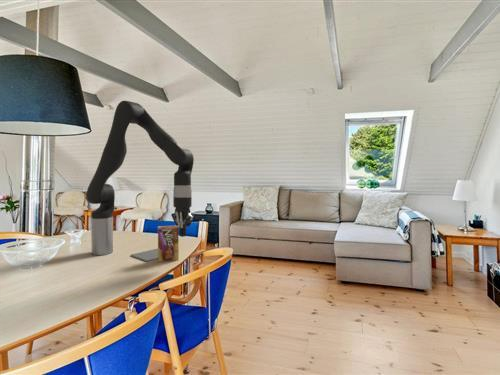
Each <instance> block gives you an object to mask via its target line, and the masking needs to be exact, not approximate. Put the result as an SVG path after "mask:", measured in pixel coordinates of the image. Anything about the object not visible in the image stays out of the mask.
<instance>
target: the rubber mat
mask: <svg viewBox="0 0 500 375" xmlns="http://www.w3.org/2000/svg"><path fill="white" fill-rule="evenodd" d="M130 257H133V258H135V259H138V260H140V261H144V262H146V263H149V262H153V261H156V260H158V247H157V248H154V249H150V250H145V251H141V252H137V253H132V254H130Z"/></svg>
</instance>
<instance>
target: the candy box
mask: <svg viewBox="0 0 500 375" xmlns="http://www.w3.org/2000/svg"><path fill="white" fill-rule="evenodd" d="M157 248H158V259H157V260H158V261H157V262H159V263H160V262H168V261H169V262H171V261H179V259H180V258H179V256H180V255H179V254H180V253H179V252H180V251H179V248H180V247H179V227H178V226H176V224H174V225H165V226H164V225H160V226H159V225H158V226H157Z"/></svg>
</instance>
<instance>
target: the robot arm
mask: <svg viewBox="0 0 500 375" xmlns="http://www.w3.org/2000/svg"><path fill="white" fill-rule="evenodd" d="M111 124H112V125H111V128H110V131H109V134H108V137H107V141H106V143H105V146H104V148H103V150H102V151H103V152H102V154H101V156H100V159H99V163H98V165H97V168H96V171H95V173H94V174H93V177H92V178H91V180H90V182H89V185H88V187H87V189H86V193H85V194H86V195H85V197H86V200H87V202H88V203H90V204H93V205H98V204H99V207H97V208H96V209H94V210H92V211H91V214H90V224H91V225H90V226H91V228H90V229H91V230H90V232H91V237H90V238H91V241H90V242H91V254H92V255H94V256H104V255H109V254H111V253H113V252H114V231H113V230H114V226H113V225H114V222H113V219H114V217H113V214H114V211H115V202H116V201H115V199H116V197H115V196H116V194H115V189H114V187H113V185H111V184H109V183H107V180H108V179H110V177H112V175H114V174H115V173H116V171H118V170H119V169H120V168H121V167H122V166H123V164H124V161H125V158H126V155H127V152H128V151H127V142H126V133H127V130H128V127H129V125H130V124H134V125H138V126H139V127H140V128H142V129H143V130H145V132H146V134H148V136H149V138H150V141H152V143H154V145H156V146H157V147H158V148H159V149H160V150H161V151H162V152H164V154H165V155H166V157H167V158H168V159H169V160H170V162H171V163H173V164H175V165H177V166H178V168H177V170H176V171H175V172H174V174H173V190H172V191H173V193H172V194H173V195H172V196H173V197H172V198H173V200H172V201H173V203H172V204H173V205H172V206H173V208H175V209H174V213H171V215H170V216H171V217H172V219H173V222H174V225H176V226H178V237H181V238H182V237H186V236H187V228H188V227H190V226H191V224H192V222H193V220H194V219H195V215H192V214H191V207H192V200H193V199H192V176H191V175H192V171H193V168H194V167H193V166H194V161H195V160H194V159H195V158H194V155H193V152H192V151H191V150H190V149H187V148H182V147H180V146H179V145H178V144H177V141H176V139H175V138H174V137H173V136H171V135H170V134H169V133H168V132H167V131H165V129H163V128H162V127H161V126H160V125H159V124H158V123H157V121H155V119H153V117H152V116H151V115H150V114H149V112H148V111H147V109H145V108H144V106H143V105H141V104H140V103H137V102H133V101H129V100H122V101H120V102H118V104H117V106H116V108H115V111H114V115H113V119H112V123H111Z"/></svg>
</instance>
